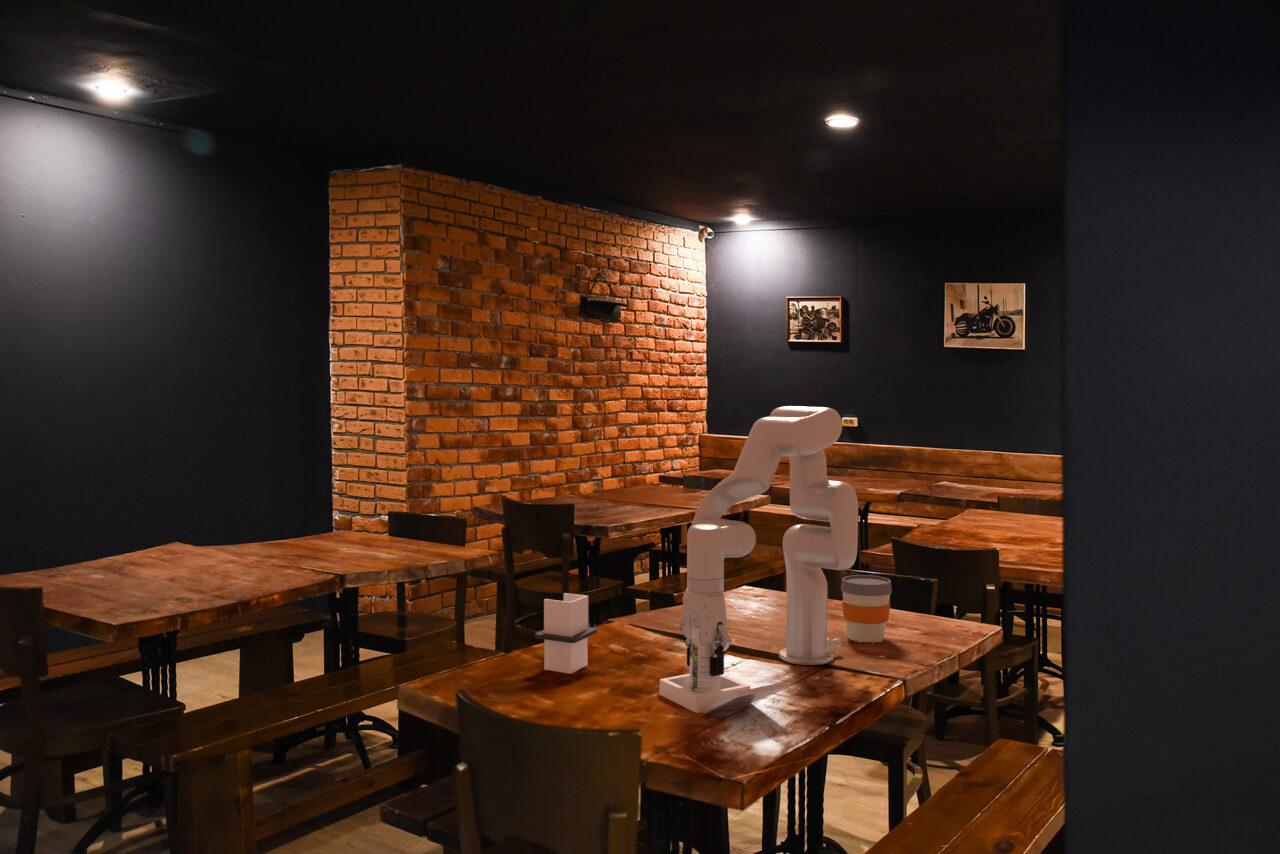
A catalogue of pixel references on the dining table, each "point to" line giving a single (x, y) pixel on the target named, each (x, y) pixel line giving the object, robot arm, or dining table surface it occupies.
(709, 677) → the syrup box
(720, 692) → the white piece
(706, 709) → the white square slab
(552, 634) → the white flanged box
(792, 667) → the dining table surface
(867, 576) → the reusable coffee cup
